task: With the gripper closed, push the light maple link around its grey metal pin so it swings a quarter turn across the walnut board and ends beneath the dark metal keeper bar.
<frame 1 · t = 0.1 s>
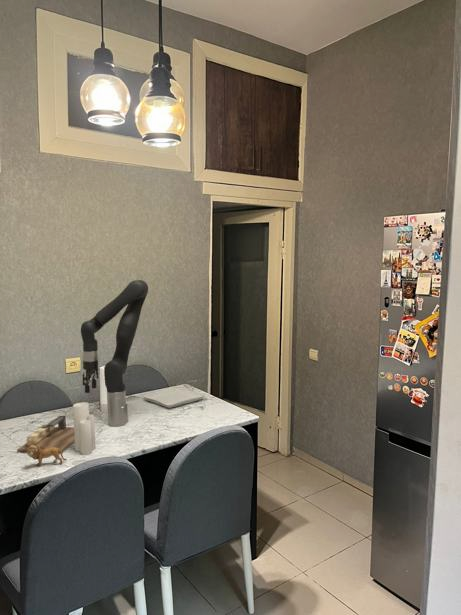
hand: (90, 390, 236), 17 cm above the table, tool pointing down, fingers open, 8 cm apart
maple link: (38, 434, 211), point 4 cm above the table, hinge at 0.0°
walnut board: (54, 440, 213), on the table
lion figurine: (46, 465, 188), on the table
white pillar candles: (86, 450, 203), on the table
square plate: (173, 401, 274), on the table
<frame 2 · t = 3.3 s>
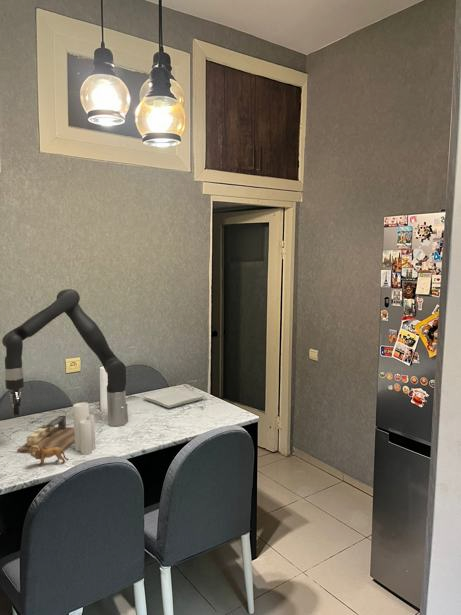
hand: (16, 414, 209), 14 cm above the table, tool pointing down, fingers closed
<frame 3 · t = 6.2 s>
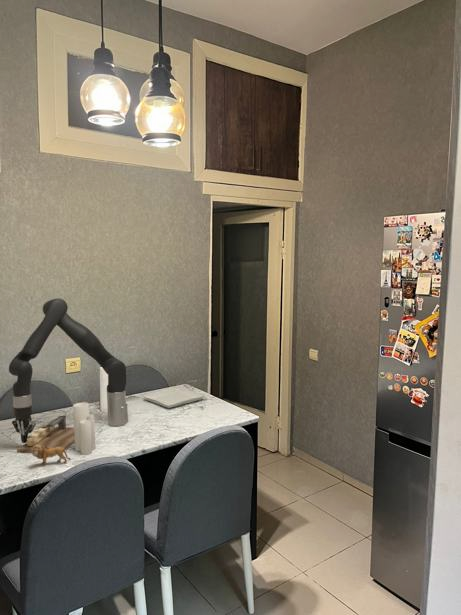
hand: (24, 442, 206), 2 cm above the table, tool pointing down, fingers closed
maple link: (38, 434, 211), point 4 cm above the table, hinge at 0.0°, touching gripper
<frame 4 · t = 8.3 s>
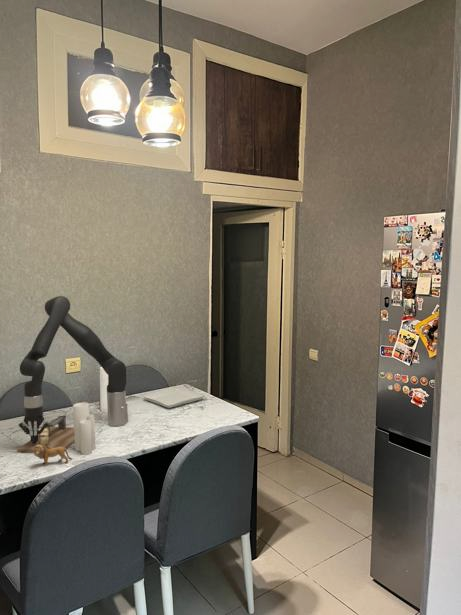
hand: (34, 443, 205), 2 cm above the table, tool pointing down, fingers closed
maple link: (44, 434, 211), point 4 cm above the table, hinge at 24.9°, touching gripper
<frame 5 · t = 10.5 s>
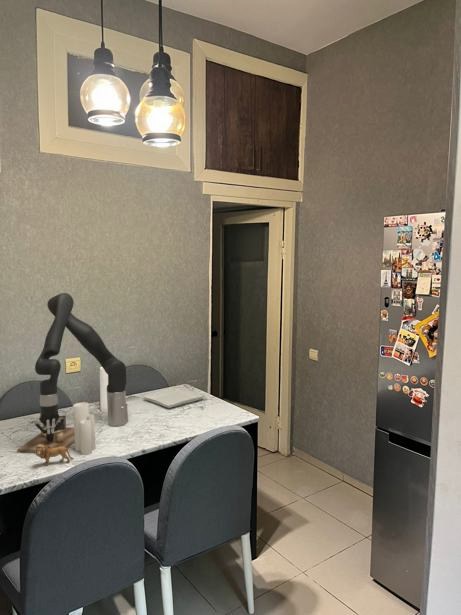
hand: (50, 441, 207), 3 cm above the table, tool pointing down, fingers closed
maple link: (52, 432, 213), point 4 cm above the table, hinge at 56.1°, touching gripper
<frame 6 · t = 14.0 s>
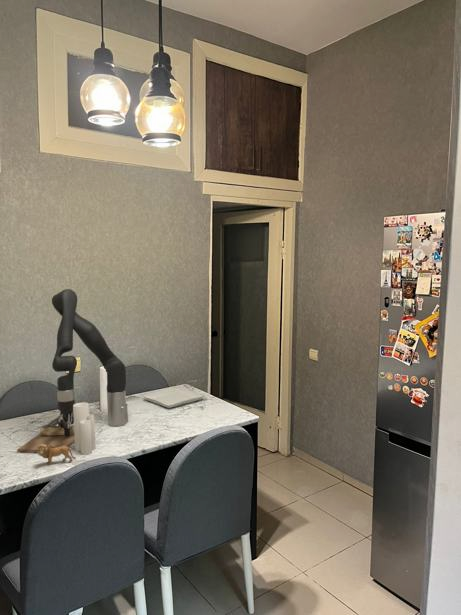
hand: (67, 435, 214), 2 cm above the table, tool pointing down, fingers closed
maple link: (58, 429, 217), point 4 cm above the table, hinge at 98.8°, touching gripper
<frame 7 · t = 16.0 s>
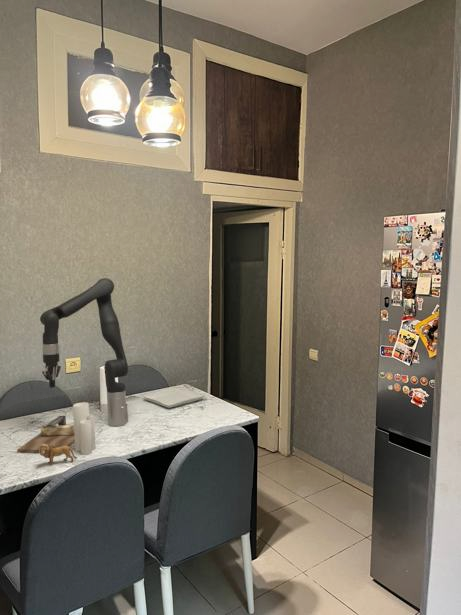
hand: (52, 387, 226), 22 cm above the table, tool pointing down, fingers closed
maple link: (58, 429, 217), point 4 cm above the table, hinge at 99.2°
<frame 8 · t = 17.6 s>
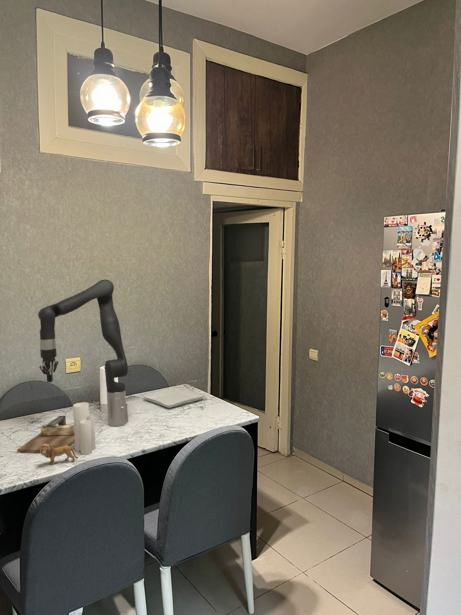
hand: (50, 381, 231), 23 cm above the table, tool pointing down, fingers closed
at the end: maple link at +99° (first picture: +0°); white pillar candles moved 0.2 cm from its start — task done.
